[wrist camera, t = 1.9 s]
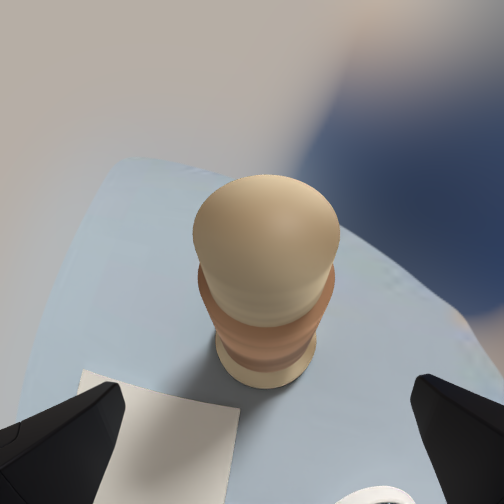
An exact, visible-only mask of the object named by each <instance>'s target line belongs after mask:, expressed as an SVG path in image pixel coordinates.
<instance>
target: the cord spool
mask: <svg viewBox="0 0 504 504" xmlns="http://www.w3.org/2000/svg"><path fill="white" fill-rule="evenodd" d="M339 241H340V227H339V222H338V219H337V216H336V214H335V211H334V209H333V208H332V206H331V205H330V203H329V202H328V201H327V200H326V199H325V198H324V197H323V196H322V195H321V194H320V193H319V192H318V191H316V190H315V189H314V188H312V187H310V186H309V185H307V184H305V183H303V182H301V181H298V180H295V179H292V178H289V177H284V176H278V175H255V176H249V177H245V178H240V179H237V180H235V181H232V182H230V183H228V184H226V185H224V186H222V187H221V188H219V189H218V190H216V191H215V192H214V193H212V194H211V195H210V196H209V197H208V198H207V199H206V201H205V202H204V203H203V204H202V206H201V207H200V209H199V211H198V213H197V215H196V218H195V221H194V225H193V242H194V246H195V250H196V253H197V256H198V259H199V261H200V264H199V269H198V286H199V291H200V294H201V297H202V299H203V302H204V304H205V306H206V308H207V311H208V313H209V315H210V317H211V320H212V322H213V324H214V326H215V329H216V337H215V344H216V350H217V353H218V356H219V359H220V361H221V363H222V364H223V366H224V367H225V369H226V370H227V371H228V373H229V374H230V375H231V376H232V377H234V378H235V379H236V380H237V381H239V382H241V383H243V384H245V385H247V386H250V387H253V388H258V389H273V388H278V387H281V386H284V385H287V384H289V383H291V382H292V381H294V380H295V379H297V378H298V377H299V376H300V375H301V374H302V373H303V372H304V371H305V369H306V368H307V366H308V365H309V363H310V362H311V360H312V357H313V355H314V352H315V348H316V329H317V327H318V325H319V323H320V320H321V318H322V316H323V314H324V312H325V310H326V307H327V305H328V303H329V301H330V298H331V296H332V293H333V289H334V282H335V272H334V266H333V261H334V258H335V255H336V252H337V249H338V245H339Z"/></svg>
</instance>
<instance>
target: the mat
mask: <svg viewBox="0 0 504 504" xmlns="http://www.w3.org/2000/svg"><path fill="white" fill-rule="evenodd" d="M105 381H110V382H116V383H118V384H119V385H120V388H121V391H122V394H123V397H124V401H125V405H126V408H125V413H124V416H123V420H122V423H121V427H120V431H119V434H118V438H117V442H116V445H115V448H114V451H113V454H112V456H111V459H110V461H109V463H108V466H107V469H106V471H105V474H104V476H103V479H102V481H101V484H100V486H99V489H98V492H97V494H96V497H95V500H94V502H93V504H224V503H225V497H226V491H227V486H228V480H229V474H230V469H231V463H232V457H233V451H234V445H235V439H236V434H237V428H238V422H239V416H240V410H241V409H240V408H233V407H227V406H221V405H215V404H210V403H205V402H200V401H195V400H190V399H185V398H181V397H176V396H172V395H168V394H164V393H160V392H156V391H152V390H148V389H145V388H141V387H137V386H134V385H130V384H127V383H124V382H120V381H117V380H114V379H111V378H108V377H105V376H102V375H99V374H96V373H93V372H90V371H87V370H84V369H83V372H82V376H81V379H80V383H79V387H78V391H77V395H79V394H81V393H83V392H85V391H87V390H89V389H91V388H93V387H95V386H97V385H99V384H101V383H103V382H105Z"/></svg>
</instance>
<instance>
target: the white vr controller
mask: <svg viewBox="0 0 504 504" xmlns="http://www.w3.org/2000/svg"><path fill="white" fill-rule="evenodd" d="M386 502H391V503H397V504H415V502H414V500H413V499H412V498H411V497H410V495H409V494H407V493H406V492H404V491H403V490H400V489H398V488H395V487H390V486H374V487H369V488H365V489H362V490H359V491H356V492H354V493H352V494H350V495H348V496H346V497H344V498H343V499H341V500H340V501H338V502H337V503H335V504H378V503H386Z"/></svg>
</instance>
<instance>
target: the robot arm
mask: <svg viewBox="0 0 504 504" xmlns="http://www.w3.org/2000/svg"><path fill="white" fill-rule="evenodd" d="M410 402H411V406H412V409H413V412H414V415H415V419H416V422H417V425H418V428H419V432H420V435H421V438H422V441H423V444H424V446H425V449H426V451H427V453H428V456H429V458H430V461H431V463H432V465H433V468H434V470H435V473H436V475H437V478H438V481H439V483H440V486H441V488H442V491H443V494H444V496H445V499H446V502H447V504H504V405H501V404H499V403H497V402H494V401H492V400H489V399H487V398H485V397H482V396H480V395H477V394H475V393H473V392H470V391H468V390H466V389H463V388H461V387H459V386H456V385H454V384H452V383H449V382H447V381H445V380H443V379H440V378H438V377H436V376H434V375H431V374H424V375H419V376H418V377H417V378H416V380H415V383H414V387H413V390H412V393H411V398H410ZM125 408H126V405H125V401H124V397H123V394H122V391H121V388H120V385H119V384H118V383H116V382H110V381H105V382H103V383H101V384H99V385H97V386H95V387H93V388H91V389H89V390H87V391H85V392H83V393H81V394H79V395H77V396H75V397H73V398H70V399H68V400H66V401H64V402H62V403H60V404H58V405H56V406H53V407H51V408H49V409H47V410H45V411H43V412H41V413H38V414H36V415H34V416H32V417H29V418H27V419H25V420H23V421H21V422H18V423H16V424H14V425H11V426H9V427H7V428H4V429H1V430H0V504H93V502H94V500H95V497H96V494H97V492H98V489H99V486H100V484H101V481H102V479H103V476H104V474H105V471H106V469H107V466H108V463H109V461H110V459H111V456H112V454H113V451H114V448H115V445H116V442H117V438H118V434H119V431H120V427H121V423H122V420H123V416H124V413H125Z"/></svg>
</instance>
